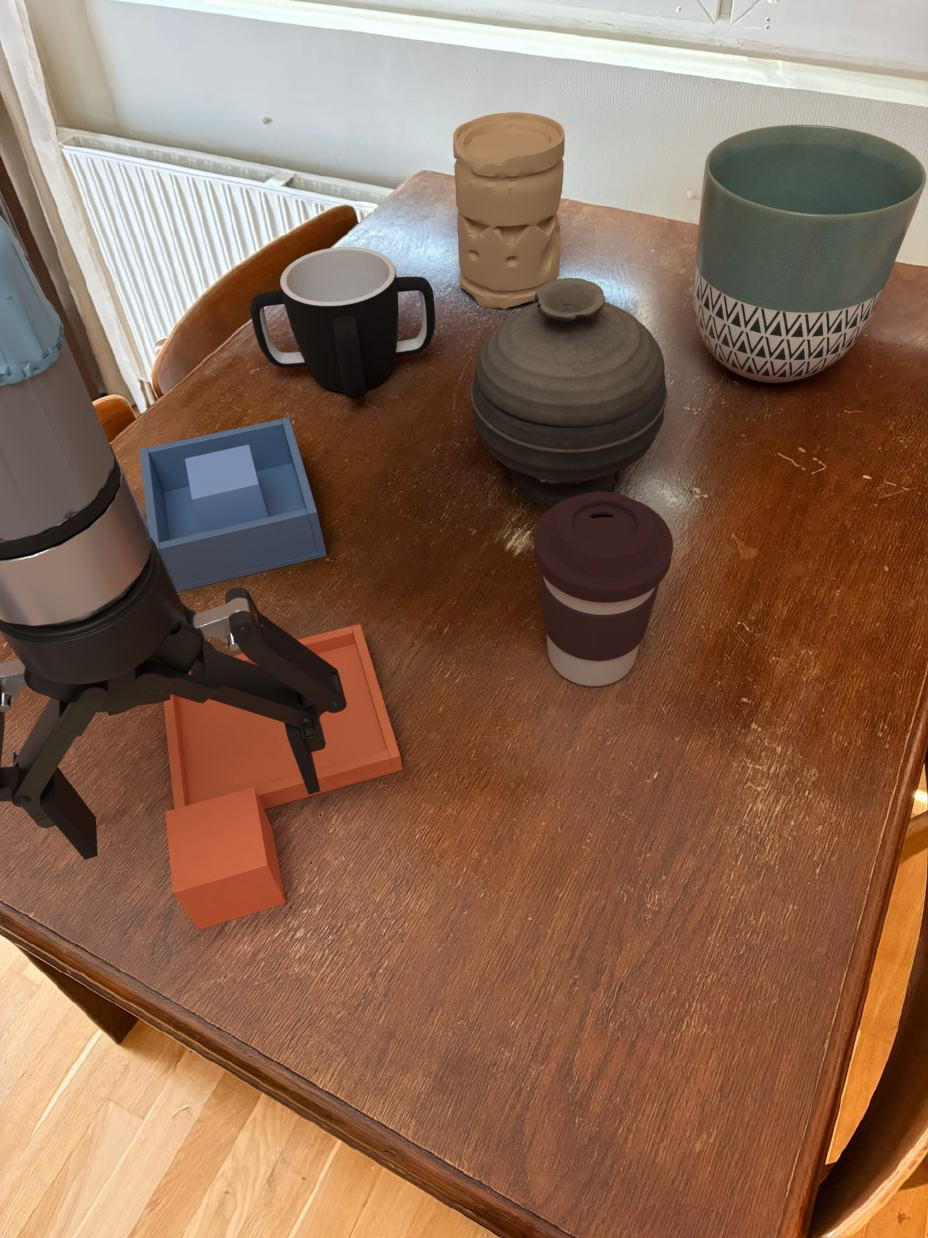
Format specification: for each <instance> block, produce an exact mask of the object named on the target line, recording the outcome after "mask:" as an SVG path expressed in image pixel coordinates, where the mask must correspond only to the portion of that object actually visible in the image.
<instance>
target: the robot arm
mask: <svg viewBox="0 0 928 1238" xmlns="http://www.w3.org/2000/svg"><path fill="white" fill-rule="evenodd" d="M64 326H65V325H64V324H63V322H62V320H61V318H60V315H59V314H58V312H57V311H56V308H55V306H54V305H53V304H52V303H51V301H49V300H48V299H47V297H46V295H45V293H44V292H43V289H42V288H41V285H40V284H39V282H38V279H37V277H36V276H35V274H34V272H33V270H32V268H31V266H30V264H29V261H28V260H27V258H26V256H25V255H24V252H23V250H22V249H21V247H20V244H19V243H18V241H17V239H16V237H15V234H14V233H13V230H12V229H11V227H10V226H9V225H8V223H7V221H5V220H4V217H2V215H0V634H1V635H2V637H3V638H4V640H5V641H6V643H7V644H8V646H9V647H10V649H11V650H12V651H13V652H14V654H15V655H16V657H17V658H18V659H14V660H9V661H2V662H0V803H3V802H11V804H12V806H15V807H17V808H22V809H23V811H25V813H26V814H27V815H28V816H29V817H30V818H31V820H33V821H34V824H36V825H37V826H38V827H40V828H42V829H45V830H46V829H49V828H53V827H56V828H57V829H58V830H59V831H60V832H61V834H63V836H64V837H65V838H66V839H67V841H68V842H69V843H70V845H71V846H73V848H74V849H75V850H76V851H77V852H78V854H79V855H80V856H81V858H83V859H84V861H85V860H86V861H87V860H90V859H94V858H97V857H98V855H99V854H98V850H99V849H98V827H97V826H98V825H97V824H98V823H97V816H96V815H95V813H93V811H92V810H91V808H89V806H88V805H87V803H86V802H85V800H83V799H84V798H82V797H81V795H80V793H78V791H77V790H76V789H75V788H74V786H73V785H72V784H71V782H70V781H69V779H68V778H67V777H66V775H65V774H64V773H63V771H62V770H61V769H60V767H59V765H60V764H61V762H62V761H63V758H64V757H65V755H66V754H67V752H68V750H70V747H71V746H72V745H73V742H74V741H75V740H76V738H77V737H78V738H80V737H83V734H84V733H85V731H86V730H87V728H88V727H89V725H90V723H91V722H92V720H93V718H94V717H95V715H96V714H97V713H101V714H102V713H107V715H108V716H109V717H110V716H111V717H112V716H114V715H118V714H122V713H126V712H127V711H129V710H132V709H134V708H136V707H139V706H145V705H146V706H147V705H155V704H160V703H163V701H167V700H171V698H170V695H175V696H178V697H181V698H185V699H188V700H191V701H194V702H197V703H205V702H206V701H207V700H208V699H211V700H214V701H217V702H220V703H223V704H227V705H230V706H233V707H236V708H239V709H242V710H245V711H249V712H252V713H255V714H258V715H261V716H264V717H268V718H271V719H274V720H277V721H280V722H283V723H284V724H285V729H286V733H287V738H288V740H289V743H290V746H291V748H292V751H293V754H294V757H295V759H296V762H297V765H298V767H299V770H300V773H301V775H302V778H303V781H304V784H305V786H306V789H307V792H308V794H309V795H310V794H313V793H316V792H320V787H319V782H318V778H317V774H316V769H315V765H314V761H313V756H312V752H315V751H319V750H322V749H324V748H325V745H326V742H325V737H324V733H323V729H322V725H321V722H320V719H319V717H320V716H321V715H322V714H323V713H324V712H326V711H328V712H330V713H338V712H341V711H343V710H344V709H345V708H346V706H347V702H346V698H345V695H344V691H343V687H342V684H341V680H340V676H339V673H338V670H337V669H336V668H335V667H333V666H332V665H331V664H329V663H328V662H326V661H325V660H324V659H322V658H321V657H320V656H318V655H317V654H316V653H314V652H313V651H311V650H310V649H309V648H307V647H306V646H305V645H303V644H302V643H301V642H299V641H298V639H297V638H295V637H294V636H293V635H291V634H289V632H287V631H285V629H283V628H281V627H280V626H279V625H277V624H276V623H275V622H273V621H272V620H270V619H269V618H268V617H266V616H265V615H264V614H262V613H261V612H260V611H259V609H258V607H257V605H256V603H255V602H254V600H253V598H252V596H251V594H250V592H249V591H248V590H247V588H245V587H240V586H236V587H231V588H230V589H228V590H227V591H226V592H225V594H224V601H225V603H224V604H222V605H218V606H215V607H212V608H209V609H207V610H204V611H201V612H198V613H197V612H196V611H194V610H192V609H191V608H189V607H188V606H186V605H185V604H184V603H183V601H182V600H181V598H180V595H179V594H178V593H179V592H177V591H176V589H175V587H174V584H173V582H172V580H171V578H170V575H169V573H168V571H167V569H166V566H165V564H164V562H163V560H162V557H161V555H160V553H159V551H158V548H157V546H156V544H155V542H154V541H153V539H152V538H151V537H150V530H149V528H148V525H147V520H146V519H145V516H144V514H143V512H142V509H141V507H140V505H139V503H138V501H137V498H136V496H135V494H134V492H133V490H132V488H131V485H130V483H129V480H128V478H127V477H126V475H125V472H124V470H123V467H122V465H121V463H120V461H119V459H118V457H117V456H116V454H115V452H114V449H113V447H112V445H111V444H110V441H109V439H108V436H107V434H106V432H105V430H104V427H103V425H102V422H101V420H100V417H99V415H98V413H97V410H96V407H95V406H94V405H95V404H94V403H93V400H92V399H91V396H90V394H89V392H88V389H87V387H86V384H85V382H84V379H83V376H82V374H81V372H80V370H79V368H78V365H77V363H76V359H75V358H74V355H73V352H72V351H71V348H70V346H69V344H68V341H67V338H66V336H65V327H64ZM208 639H217V640H219V641H220V642H222V643H223V644H225V645H227V646H228V650H229V651H231V652H238V651H239V650H240V651H241V652H242V654H243V653H244V654H245V656H246V657H247V658H248V659H250V660H251V661H252V662H254V663H255V664H257V665H255V664H252V663H249V662H247V661H244V660H241V659H238V658H236V657H233V656H234V655H230V654H227V653H224V652H222V651H219V650H217V649H216V648H215V647H214V646H213V644H212V643H211V642H210V641H208ZM190 670H191V675H190V674H189V672H190ZM27 687H28V688H29V689H30V691H33V692H34V693H36V694H39V695H43V696H46V697H49V700H48V701H47V703H46V705H45V706H44V709H43V710H42V711H41V714H40V715H39V717H38V719H37V721H36V722H35V724H34V726H33V728H32V729H31V731H30V733H29V735H28V737H26V739H25V742H24V744H23V745H22V747H21V749H20V750H19V752H18V754H17V752H16V751H13V752H12V766H2V757H3V748H4V737H5V724H6V713H8V712H9V711H11V710H12V704H14V703H16V702H17V701H18V700H19V692H20V691H21V690H22V689H24V688H27Z"/></svg>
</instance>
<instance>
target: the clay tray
mask: <svg viewBox="0 0 928 1238" xmlns="http://www.w3.org/2000/svg"><path fill="white" fill-rule="evenodd" d="M297 640H298V641H299V642H301V643H302V644H303V645H305V646H306V647H307V648H309V649H310V650H311V651H313V652H314V653H316V654H317V655H318V656H320V657H321V658H322V659H324V660H325V661H326V662H328V663H329V664H331V665H332V666H333V667H335V668H336V669H337V670H338V673H339V676H340V680H341V684H342V687H343V691H344V695H345V698H346V702H347V706H346V708H345V709H344V710H343V711H341V712H338V713H330V712H328V711H326V712H324V713H323V714H322V715H321V716H320V717H319V719H320V722H321V725H322V729H323V733H324V737H325V742H326V745H325V748H324V749H322V750H319V751H315V752H312V756H313V761H314V765H315V769H316V774H317V778H318V782H319V787H320V792H316V793H313V794H310V795H309V794H308V792H307V789H306V786H305V784H304V781H303V778H302V775H301V773H300V770H299V767H298V765H297V762H296V759H295V757H294V754H293V751H292V748H291V746H290V743H289V740H288V738H287V733H286V729H285V724H284V723H283V722H280V721H277V720H274V719H271V718H268V717H264V716H261V715H258V714H255V713H252V712H249V711H245V710H242V709H239V708H236V707H233V706H230V705H227V704H223V703H220V702H217V701H214V700H211V699H208V700H207V701H206V702H205V703H197V702H194V701H191V700H188V699H185V698H181V697H178V696H175V695H170V698H171V700H167V701H163V702H162V705H163V713H164V722H165V732H166V733H165V734H166V742H167V751H168V760H169V761H168V762H169V772H170V781H171V792H172V800H173V801H172V802H173V809H176V808H180V807H183V806H187V805H190V804H194V803H197V802H201V801H205V800H208V799H212V798H215V797H219V796H222V795H226V794H230V793H233V792H237V791H240V790H244V789H247V788H251V787H255V790H256V792H257V794H258V797H259V799H260V801H261V804H262V806H263V808H264V810H267V809H270V808H274V807H277V806H280V805H285V804H287V803H291V802H295V801H298V800H302V799H305V798H309V797H312V796H316V795H320V794H323V793H327V792H331V791H334V790H337V789H340V788H344V787H348V786H351V785H355V784H358V783H362V782H366V781H368V780H372V779H375V778H379V777H383V776H387V775H389V774H393V773H397V772H400V771H403V770H404V769H403V762H402V758H401V754H400V753H401V752H400V750H399V747H398V746H399V745H398V743H397V739H396V737H395V733H394V730H393V727H392V723H391V720H390V716H389V714H388V710H387V707H386V704H385V700H384V697H383V694H382V691H381V687H380V684H379V680H378V678H377V674H376V671H375V668H374V664H373V660H372V657H371V654H370V650H369V647H368V645H367V641H366V637H365V635H364V631H363V628H362V625H361V623H357V624H354V625H351V626H350V625H349V626H345V627H341V628H337V629H334V630H330V631H326V632H322V633H318V634H315V635H310V636H307V637H306V636H305V637H302V638H299V639H297ZM232 656H233V657H236V658H238V659H241V660H244V661H247V662H249V663H252V664H255V663H254V662H252V661H251V660H250V659H248V658H247V657H246V656H245V654H244V653H243V652H242V653H239V654H236V655H232ZM255 665H257V664H255ZM189 674H190V675H191V670H190V672H189Z"/></svg>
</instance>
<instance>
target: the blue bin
mask: <svg viewBox="0 0 928 1238" xmlns="http://www.w3.org/2000/svg"><path fill="white" fill-rule="evenodd" d="M244 445H249V446H250V450H251V453H252V457H253V461H254V464H255V468H256V471H257V475H258V478H259V482H260V485H261V489H262V493H263V497H264V500H265V504H266V508H267V512H268V516H269V517H267V518H263V519H259V520H254V521H250V522H246V523H241V524H237V525H233V526H228V527H224V528H220V529H216V530H211V531H207V532H203V529H202V526H201V523H200V520H199V518H198V515H197V512H196V509H195V507H194V504H193V501H192V497H191V492H190V486H189V480H188V474H187V468H186V462H185V459H186V458H191V457H195V456H200V455H204V454H208V453H213V452H217V451H222V450H226V449H231V448H235V447H240V446H244ZM139 459H140V467H141V476H142V487H143V497H144V504H145V505H144V507H145V515H146V523H147V525H148V528H149V530H150V537H151V538H152V539H153V541H154V542H155V544H156V546H157V548H158V551H159V553H160V555H161V557H162V560H163V562H164V564H165V566H166V569H167V571H168V573H169V575H170V578H171V580H172V582H173V584H174V587H175V589H176V591H177V593H181V592H184V591H185V592H186V591H188V590H193V589H197V588H202V587H205V586H210V585H215V584H218V583H222V582H227V581H230V580H234V579H238V578H242V577H247V576H250V575H255V574H259V573H263V572H267V571H272V570H275V569H276V570H277V569H280V568H283V567H288V566H292V565H297V564H299V563H300V564H301V563H304V562H310V561H312V560H317V559H320V558H326V557H328V555H327V553H328V552H327V549H326V545H325V541H324V536H323V532H322V528H321V523H320V518H319V514H318V510H317V506H316V503H315V499H314V496H313V493H312V490H311V486H310V483H309V479H308V476H307V472H306V469H305V466H304V462H303V458H302V456H301V452H300V448H299V446H298V442H297V438H296V434H295V431H294V428H293V424H292V421H291V417H290V416H288V417H283V418H279V419H275V420H269V421H266V422H260V423H256V424H251V425H246V426H242V427H237V428H233V429H227V430H224V431H223V430H222V431H220V432H219V431H218V432H215V433H209V434H205V435H200V436H195V437H191V438H186V439H182V440H177V441H172V442H167V443H163V444H159V445H154V446H150V447H144V448H140V449H139Z"/></svg>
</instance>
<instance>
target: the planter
mask: <svg viewBox="0 0 928 1238" xmlns="http://www.w3.org/2000/svg"><path fill="white" fill-rule="evenodd" d="M926 183H927V172H926V169H925V167H924V165H923V163H922V162H921V161H920V160H919V159H918V157H917V156H915V155H914V154H913V153H912V152H910V151H909V150H907V149H906V148H904V147H902V146H901V145H899V144H897V143H895V142H893V141H891V140H888V139H886V138H883V137H880V136H877V135H875V134H871V133H868V132H864V131H860V130H855V129H850V128H846V127H845V128H844V127H838V126H830V125H821V124H820V125H819V124H783V125H773V126H766V127H760V128H755V129H750V130H747V131H743V132H739V133H737V134H734V135H732V136H730V137H728V138H725V139H724V140H722V141H720V142H719V143H718V144H716V145H715V146H714V147H713V148H712V149H711V150H710V151H709V153H708V154H707V157H706V159H705V164H704V171H703V178H702V189H701V196H700V197H701V198H700V211H699V221H698V231H697V238H696V248H695V249H696V250H695V261H694V271H693V273H694V274H693V281H692V302H693V312H694V313H693V314H694V317H695V323H696V327H697V331H698V334H699V336H700V338H701V340H702V342H703V343H704V345H705V347H706V348H707V350H708V351H709V352H710V354H712V356H713V357H714V358H715V359H716V360H717V361H718V362H719V363H720V364H721V365H723V366H724V367H725V368H727V369H728V370H729V371H731V372H733V373H734V374H736V375H738V376H740V377H742V378H745V379H749V380H751V381H755V382H760V383H766V384H767V383H769V384H780V383H781V384H783V383H791V382H796V381H799V380H802V379H806V378H808V377H811V376H814V375H816V374H818V373H820V372H822V371H824V370H826V369H828V368H830V367H832V365H834V364H835V363H836V362H838V361H839V360H840V359H842V358H843V357H844V356H845V355H846V354H847V353H848V352H849V351H851V349H852V347H853V346H854V345H855V344H856V343H857V341H858V340H859V338H860V337H861V335H863V334H864V331H865V329H867V326H868V325H869V323H870V322H871V320H872V317H873V316H874V313H875V311H876V309H877V307H878V304H879V302H880V299H881V297H882V294H883V292H884V290H885V287H886V285H887V282H888V280H889V278H890V276H891V273H892V270H893V267H894V266H895V262H896V260H897V257H898V256H899V253H900V249H901V247H902V245H903V243H904V239H905V237H906V236H907V233H908V230H909V228H910V226H911V223H912V221H913V218H914V215H915V213H916V211H917V208H918V206H919V203H920V200H921V198H922V194H923V192H924V189H925V186H926Z"/></svg>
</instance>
